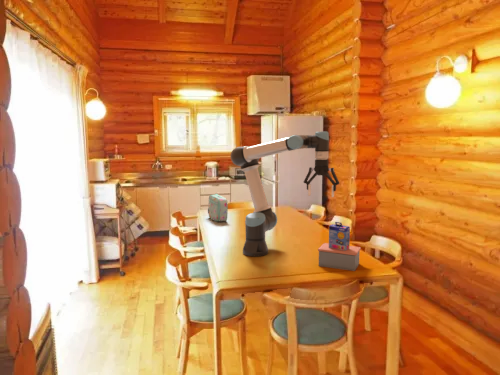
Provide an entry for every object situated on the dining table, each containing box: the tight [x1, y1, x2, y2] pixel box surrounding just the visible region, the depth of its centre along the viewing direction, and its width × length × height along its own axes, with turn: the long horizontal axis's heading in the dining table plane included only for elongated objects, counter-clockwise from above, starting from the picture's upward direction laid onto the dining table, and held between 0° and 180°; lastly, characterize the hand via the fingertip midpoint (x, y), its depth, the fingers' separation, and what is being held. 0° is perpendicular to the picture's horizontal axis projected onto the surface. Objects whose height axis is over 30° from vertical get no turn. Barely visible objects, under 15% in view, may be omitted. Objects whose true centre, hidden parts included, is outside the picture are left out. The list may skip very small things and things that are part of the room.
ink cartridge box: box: [328, 221, 351, 251], centre depth 202 cm, size 10×6×14 cm, turn 52°
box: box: [318, 251, 360, 272], centre depth 204 cm, size 19×12×8 cm, turn 64°
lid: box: [317, 242, 362, 255], centre depth 203 cm, size 20×12×1 cm, turn 64°
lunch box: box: [207, 193, 229, 223], centre depth 318 cm, size 27×10×21 cm, turn 25°
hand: (321, 196), depth 217 cm, fingers open, 13 cm apart
